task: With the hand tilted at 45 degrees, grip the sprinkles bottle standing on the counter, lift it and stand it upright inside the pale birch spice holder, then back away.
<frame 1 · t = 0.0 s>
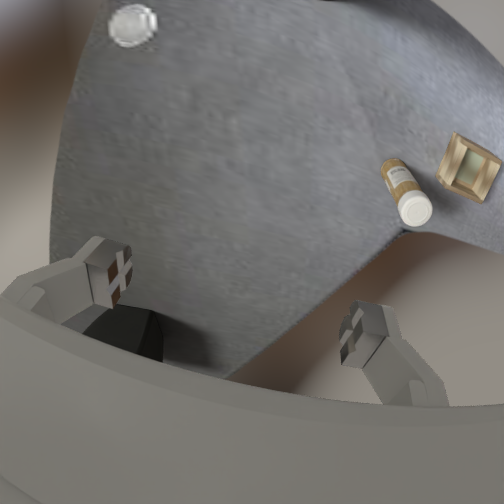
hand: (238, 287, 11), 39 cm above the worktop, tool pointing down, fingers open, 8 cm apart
sprinkles bottle: (393, 169, 45), on the worktop
flower pot: (140, 320, 82), on the worktop
spice holder: (463, 163, 41), on the worktop
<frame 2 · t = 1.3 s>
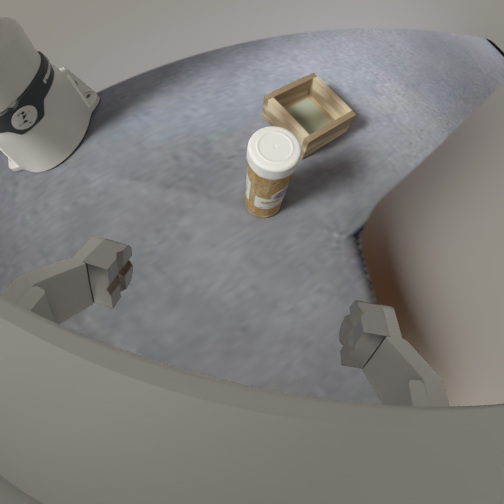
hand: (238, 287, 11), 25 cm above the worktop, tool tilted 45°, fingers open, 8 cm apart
sprinkles bottle: (262, 201, 38), on the worktop
spice holder: (305, 122, 40), on the worktop
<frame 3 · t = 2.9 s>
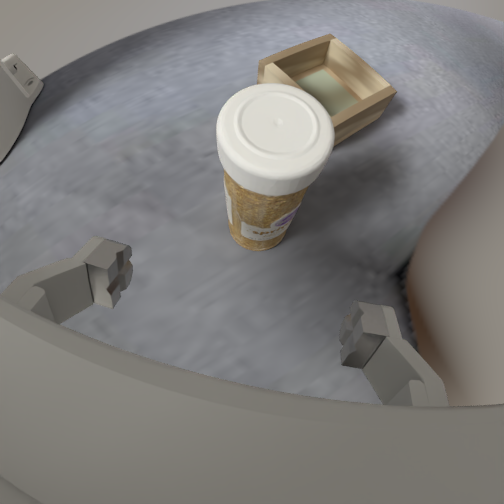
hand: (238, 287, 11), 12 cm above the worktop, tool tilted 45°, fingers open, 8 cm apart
sprinkles bottle: (257, 223, 24), on the worktop
spice holder: (320, 103, 26), on the worktop
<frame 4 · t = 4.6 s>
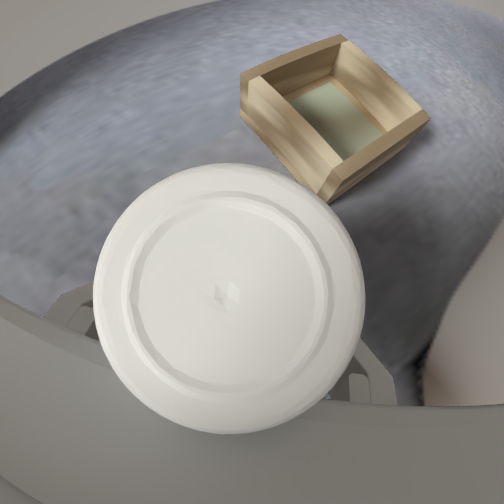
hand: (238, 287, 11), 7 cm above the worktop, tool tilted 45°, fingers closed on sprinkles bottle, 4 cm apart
sprinkles bottle: (237, 307, 18), on the worktop, touching gripper
spice holder: (325, 130, 20), on the worktop
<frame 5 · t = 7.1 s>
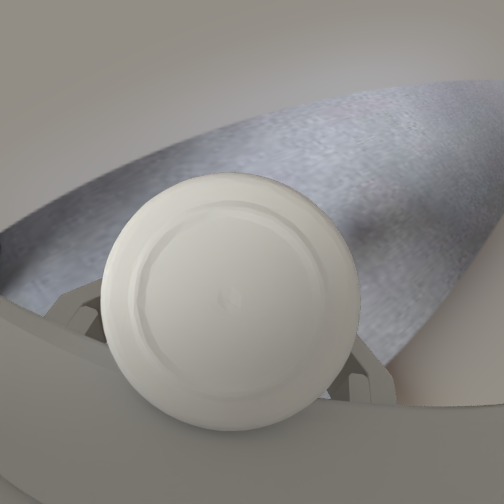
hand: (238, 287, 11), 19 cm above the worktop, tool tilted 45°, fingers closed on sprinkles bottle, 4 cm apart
sprinkles bottle: (236, 306, 18), point 12 cm above the worktop, touching gripper
when the fingers open (10 cm above the worktop, at t = 9.7 s): sprinkles bottle stays where it is, resting on spice holder.
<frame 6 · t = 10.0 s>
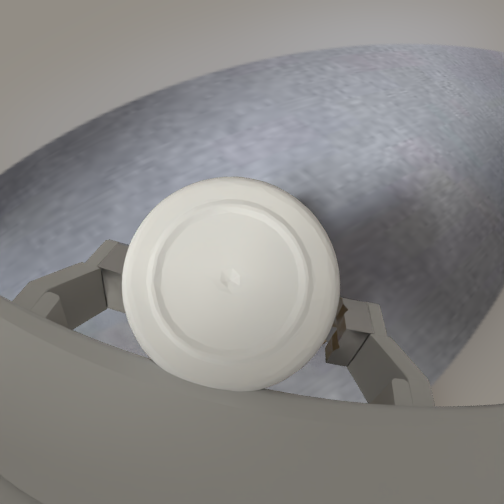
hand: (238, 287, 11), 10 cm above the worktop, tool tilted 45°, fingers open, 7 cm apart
sprinkles bottle: (237, 306, 19), point 1 cm above the worktop, touching spice holder
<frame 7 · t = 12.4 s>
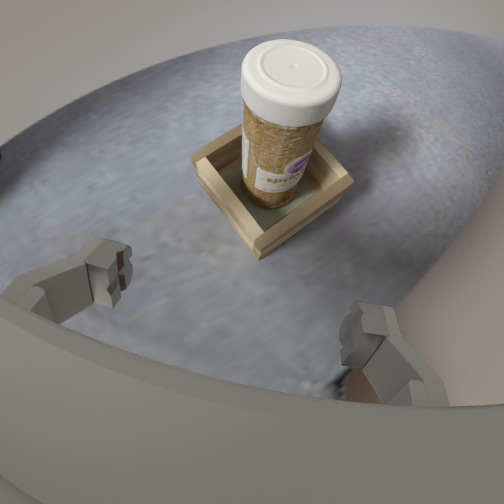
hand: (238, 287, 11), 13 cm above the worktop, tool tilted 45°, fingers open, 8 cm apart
sprinkles bottle: (268, 184, 25), point 1 cm above the worktop, touching spice holder
spice holder: (268, 189, 26), on the worktop
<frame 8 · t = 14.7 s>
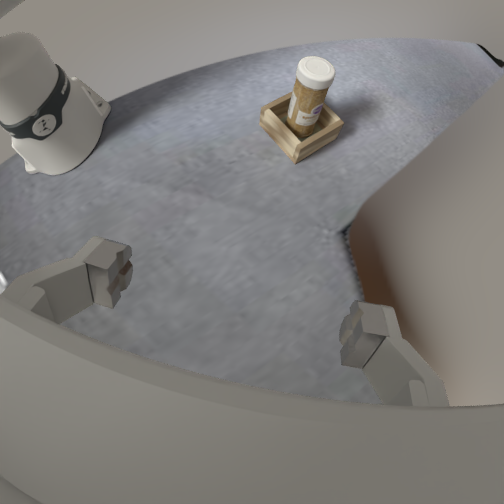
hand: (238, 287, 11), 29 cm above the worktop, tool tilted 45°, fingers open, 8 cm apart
sprinkles bottle: (299, 127, 44), point 1 cm above the worktop, touching spice holder
spice holder: (298, 130, 45), on the worktop
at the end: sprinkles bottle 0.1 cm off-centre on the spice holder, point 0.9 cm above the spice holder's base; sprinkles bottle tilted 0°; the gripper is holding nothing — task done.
